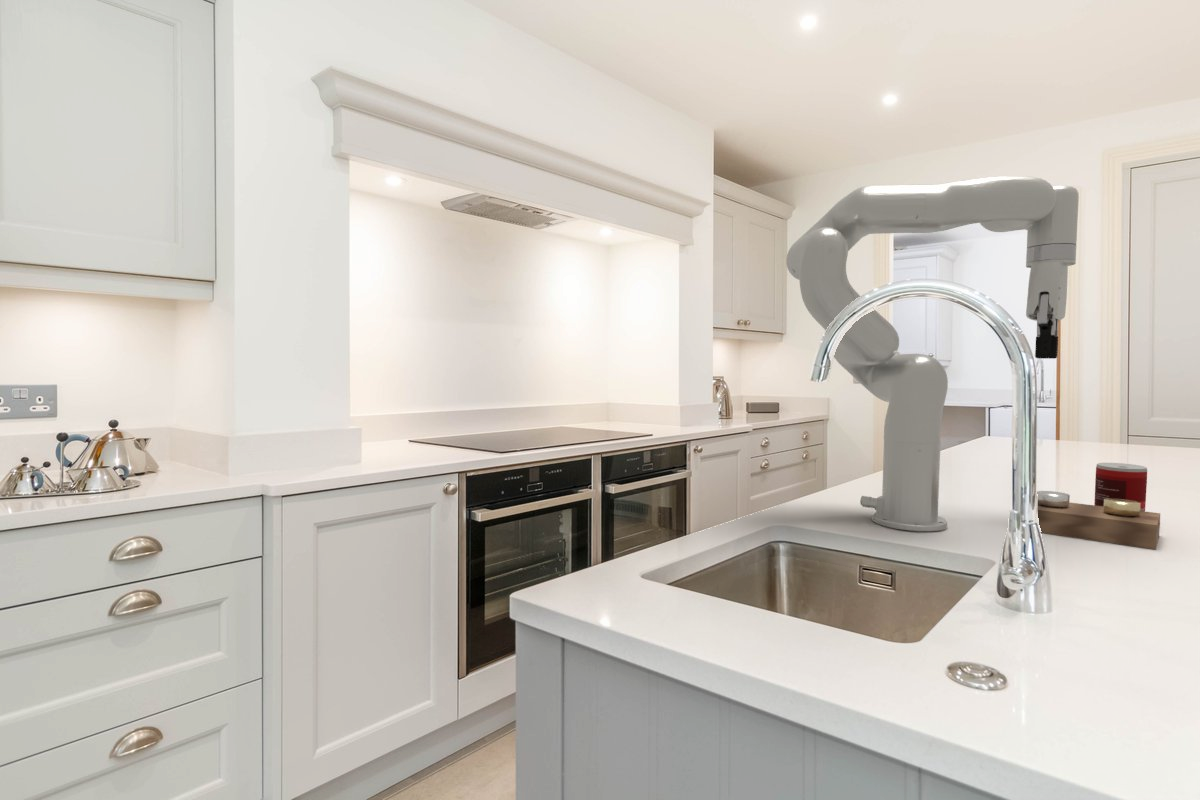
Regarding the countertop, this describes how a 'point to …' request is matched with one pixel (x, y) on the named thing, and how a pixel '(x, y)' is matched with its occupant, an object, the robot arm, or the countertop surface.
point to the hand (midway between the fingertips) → (1046, 358)
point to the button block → (1100, 525)
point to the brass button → (1121, 507)
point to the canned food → (1120, 483)
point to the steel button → (1053, 499)
